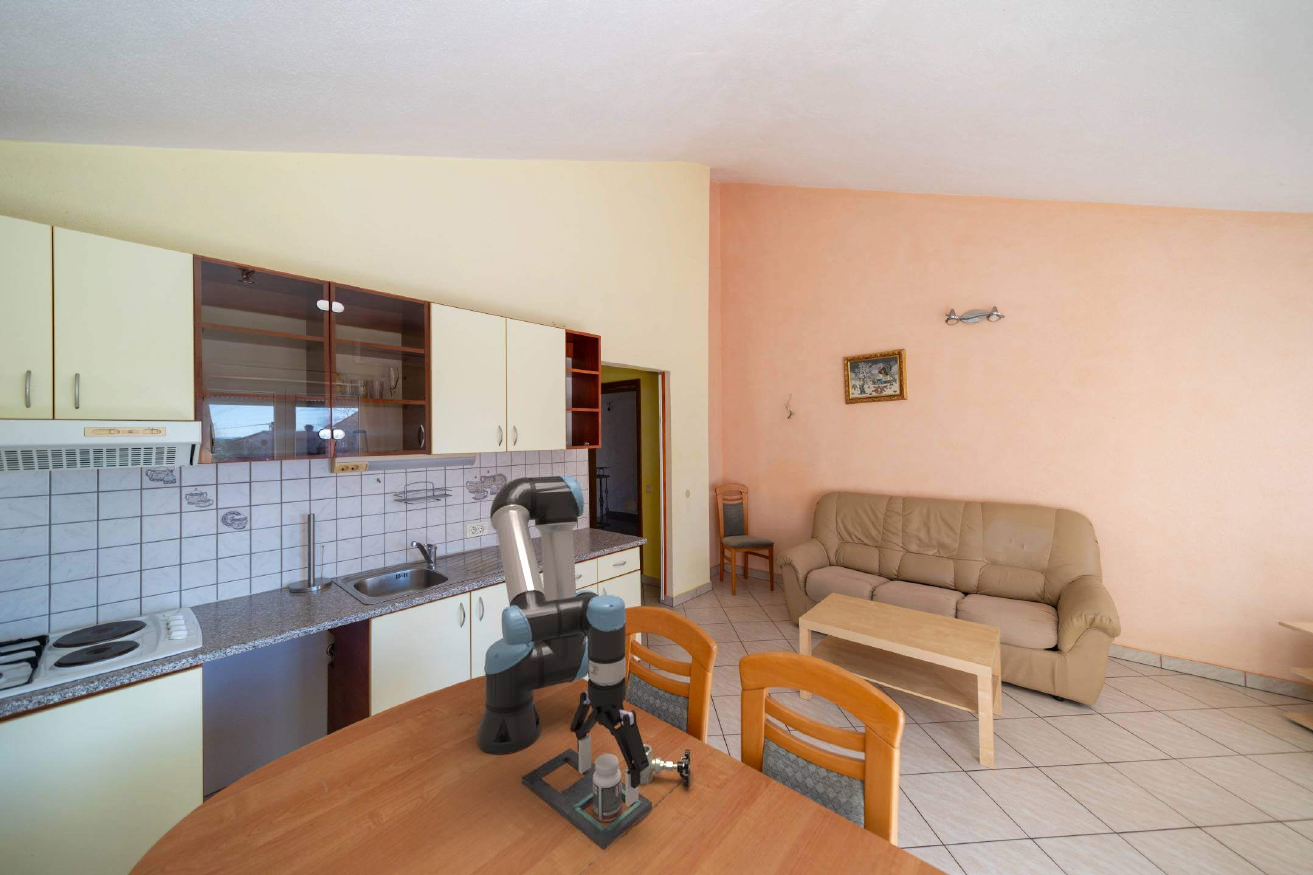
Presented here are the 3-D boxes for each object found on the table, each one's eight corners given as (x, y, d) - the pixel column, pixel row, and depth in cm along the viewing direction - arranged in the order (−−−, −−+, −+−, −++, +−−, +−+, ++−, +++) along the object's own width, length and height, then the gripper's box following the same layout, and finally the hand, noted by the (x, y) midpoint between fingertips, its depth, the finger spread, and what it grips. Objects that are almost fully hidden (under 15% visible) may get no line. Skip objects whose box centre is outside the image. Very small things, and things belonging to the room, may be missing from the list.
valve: (631, 789, 101) (688, 794, 99) (631, 757, 101) (688, 762, 99) (637, 768, 107) (690, 772, 106) (637, 738, 107) (690, 742, 106)
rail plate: (521, 782, 103) (521, 776, 103) (569, 752, 113) (569, 746, 113) (603, 849, 86) (603, 841, 86) (652, 807, 95) (651, 800, 96)
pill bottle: (626, 804, 96) (626, 755, 96) (614, 826, 91) (614, 773, 91) (600, 798, 98) (600, 749, 98) (587, 818, 93) (587, 767, 93)
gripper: (553, 665, 100) (553, 766, 100) (639, 707, 84) (640, 829, 84) (580, 653, 106) (581, 749, 106) (666, 690, 90) (667, 804, 89)
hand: (607, 785), depth 95 cm, fingers open, 13 cm apart
